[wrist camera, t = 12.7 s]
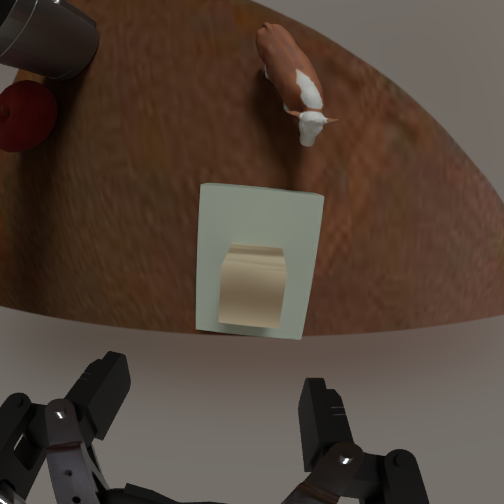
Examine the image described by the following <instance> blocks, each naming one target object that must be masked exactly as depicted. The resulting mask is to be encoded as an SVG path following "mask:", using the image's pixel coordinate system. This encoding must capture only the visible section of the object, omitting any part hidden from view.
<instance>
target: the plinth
mask: <svg viewBox="0 0 504 504" xmlns="http://www.w3.org/2000/svg"><path fill="white" fill-rule="evenodd" d="M323 203H324V196H322V195H320V194H317V193H310V192H302V191H294V190H285V189H276V188H266V187H255V186H244V185H231V184H218V183H206V184H201V189H200V205H199V223H198V246H197V278H196V329H199V330H206V331H214V332H222V333H230V334H240V335H249V336H260V337H271V338H284V339H299V340H301V337H302V332H303V327H304V322H305V317H306V312H307V307H308V301H309V296H310V290H311V284H312V278H313V272H314V266H315V260H316V254H317V247H318V240H319V233H320V226H321V219H322V211H323ZM232 243H238V244H247V245H257V246H267V247H276V248H282V250H283V254H284V259H285V264H286V269H287V277H286V284H285V291H284V298H283V304H282V311H281V317H280V323H279V329H277V328H266V327H255V326H246V325H237V324H228V323H220V322H218V320H219V301H220V284H221V268H222V264H223V261H224V259H225V257H226V255H227V253H228V250H229V248H230V246H231V244H232Z"/></svg>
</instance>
